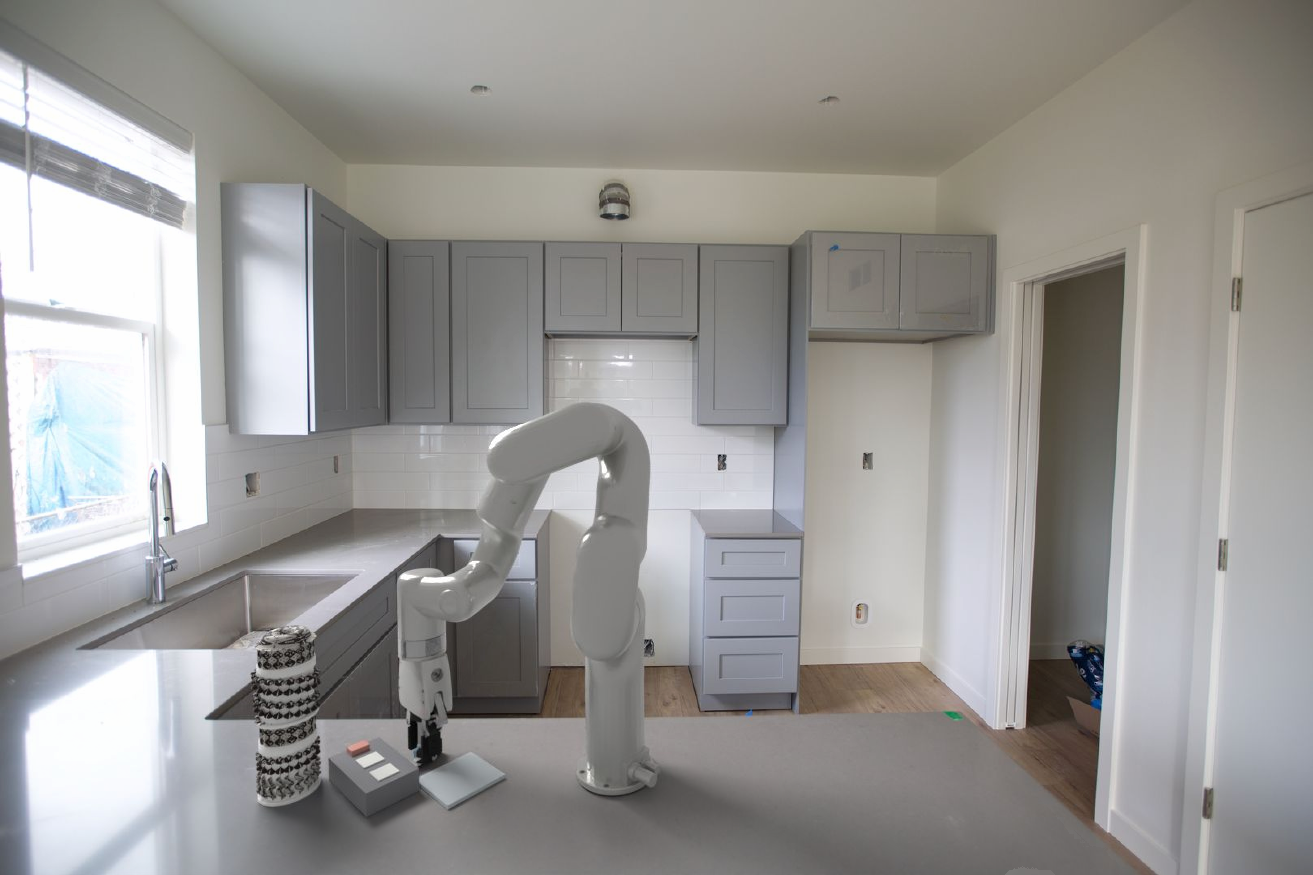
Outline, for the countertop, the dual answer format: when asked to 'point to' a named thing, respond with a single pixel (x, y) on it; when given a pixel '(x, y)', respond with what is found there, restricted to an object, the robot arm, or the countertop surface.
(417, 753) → the push button
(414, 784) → the power strip
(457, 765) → the pale blue mat
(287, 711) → the decorative candle
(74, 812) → the countertop surface
